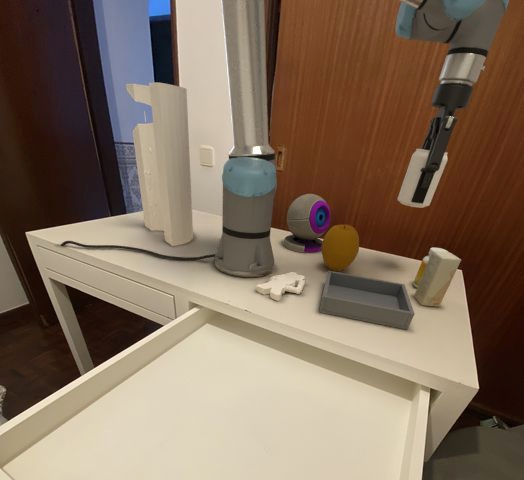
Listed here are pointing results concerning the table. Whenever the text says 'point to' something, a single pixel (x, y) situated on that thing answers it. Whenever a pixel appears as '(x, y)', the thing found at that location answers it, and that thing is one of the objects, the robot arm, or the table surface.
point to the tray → (367, 300)
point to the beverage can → (413, 177)
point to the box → (436, 278)
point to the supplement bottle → (423, 265)
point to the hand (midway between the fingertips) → (414, 199)
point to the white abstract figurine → (282, 285)
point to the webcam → (307, 223)
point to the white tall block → (164, 161)
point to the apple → (340, 247)
